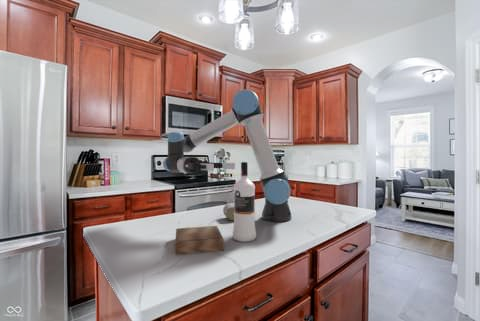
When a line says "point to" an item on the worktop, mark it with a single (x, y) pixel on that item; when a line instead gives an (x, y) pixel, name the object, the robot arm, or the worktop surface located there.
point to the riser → (198, 240)
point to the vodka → (244, 207)
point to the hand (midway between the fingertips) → (224, 166)
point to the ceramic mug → (229, 211)
